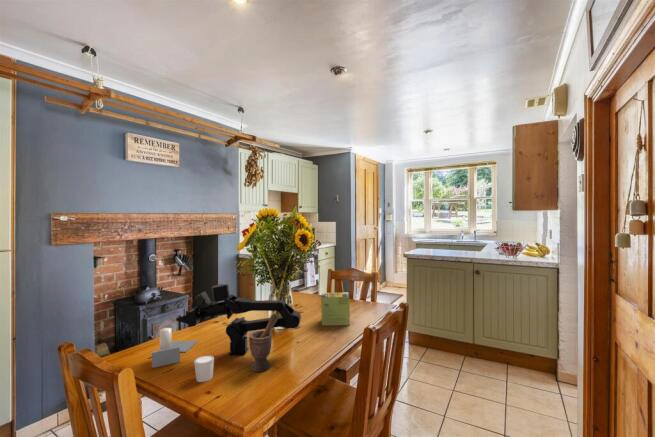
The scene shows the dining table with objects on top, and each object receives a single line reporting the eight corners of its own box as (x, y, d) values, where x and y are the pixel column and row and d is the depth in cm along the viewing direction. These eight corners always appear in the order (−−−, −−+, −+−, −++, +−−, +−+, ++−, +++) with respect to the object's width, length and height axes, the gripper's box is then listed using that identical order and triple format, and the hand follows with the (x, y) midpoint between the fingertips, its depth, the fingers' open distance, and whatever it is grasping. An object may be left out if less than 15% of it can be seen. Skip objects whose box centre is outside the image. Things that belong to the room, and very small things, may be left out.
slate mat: (197, 341, 150) (197, 340, 150) (185, 352, 138) (185, 351, 138) (173, 341, 150) (173, 341, 150) (159, 352, 138) (159, 351, 138)
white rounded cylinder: (171, 354, 136) (171, 327, 136) (172, 358, 132) (171, 330, 132) (160, 356, 134) (159, 328, 134) (159, 361, 130) (159, 332, 130)
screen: (179, 360, 130) (179, 346, 130) (179, 362, 128) (179, 347, 128) (152, 366, 125) (151, 351, 125) (152, 368, 124) (151, 352, 124)
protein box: (350, 325, 168) (349, 296, 168) (321, 325, 168) (321, 297, 168) (349, 319, 178) (348, 292, 178) (322, 319, 179) (321, 292, 179)
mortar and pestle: (266, 358, 131) (265, 310, 131) (282, 363, 126) (281, 313, 126) (245, 369, 121) (244, 318, 121) (261, 375, 116) (259, 321, 116)
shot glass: (193, 384, 111) (192, 364, 111) (195, 375, 117) (195, 356, 117) (213, 381, 113) (213, 361, 113) (215, 372, 119) (214, 354, 119)
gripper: (220, 286, 146) (187, 292, 146) (204, 296, 127) (167, 303, 127) (224, 310, 146) (191, 316, 146) (209, 323, 128) (172, 330, 128)
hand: (181, 315), depth 137 cm, fingers open, 9 cm apart
